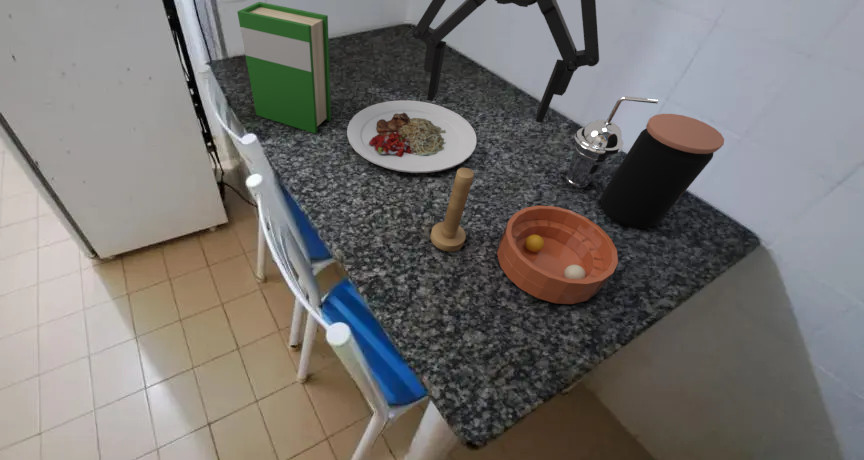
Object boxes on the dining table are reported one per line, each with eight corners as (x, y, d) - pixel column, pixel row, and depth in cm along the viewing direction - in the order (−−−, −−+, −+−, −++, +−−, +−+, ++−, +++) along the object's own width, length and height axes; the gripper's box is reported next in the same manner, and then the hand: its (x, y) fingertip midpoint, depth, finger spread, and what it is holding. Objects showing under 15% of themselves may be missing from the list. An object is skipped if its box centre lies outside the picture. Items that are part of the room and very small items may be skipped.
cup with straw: (573, 164, 86) (619, 76, 72) (609, 187, 81) (667, 97, 66) (546, 176, 83) (588, 86, 69) (582, 201, 78) (635, 109, 63)
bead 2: (590, 277, 60) (570, 272, 61) (581, 289, 62) (561, 284, 63) (587, 263, 62) (568, 258, 63) (578, 275, 64) (559, 270, 65)
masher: (445, 256, 67) (464, 190, 57) (423, 234, 71) (437, 168, 60) (471, 243, 70) (494, 177, 59) (448, 222, 73) (466, 156, 62)
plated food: (488, 125, 97) (492, 112, 95) (452, 195, 78) (456, 182, 76) (378, 97, 106) (379, 85, 104) (323, 154, 88) (323, 141, 85)
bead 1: (531, 256, 68) (546, 253, 65) (519, 247, 67) (533, 244, 65) (535, 242, 69) (549, 238, 67) (523, 233, 69) (537, 229, 66)
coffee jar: (667, 234, 72) (738, 152, 59) (606, 227, 73) (663, 145, 60) (646, 196, 79) (706, 116, 66) (591, 190, 80) (639, 110, 67)
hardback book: (331, 119, 98) (327, 15, 81) (315, 133, 93) (308, 26, 76) (273, 102, 104) (259, 1, 86) (256, 114, 99) (237, 11, 82)
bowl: (601, 320, 59) (621, 298, 55) (490, 286, 63) (500, 263, 59) (597, 244, 70) (614, 220, 65) (502, 219, 74) (512, 195, 69)
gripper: (698, -111, 34) (588, 111, 49) (419, -125, 40) (399, 76, 55) (718, -100, 29) (589, 142, 44) (398, -118, 35) (382, 100, 51)
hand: (483, 106), depth 50 cm, fingers open, 13 cm apart
